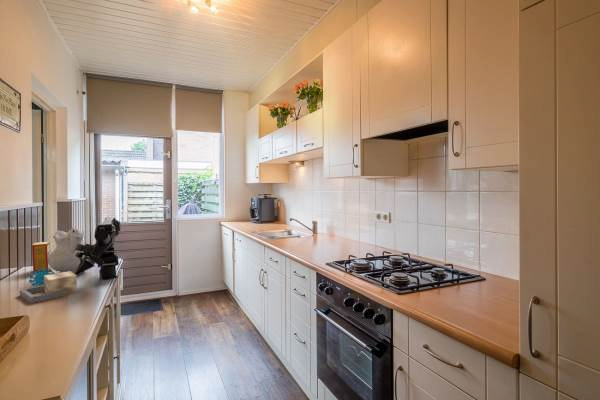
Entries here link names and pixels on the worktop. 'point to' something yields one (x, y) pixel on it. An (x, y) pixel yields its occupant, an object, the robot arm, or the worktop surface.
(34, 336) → the worktop surface
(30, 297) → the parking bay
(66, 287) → the oak block
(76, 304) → the worktop surface
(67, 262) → the ceramic pitcher
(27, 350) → the worktop surface
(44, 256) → the baking soda box
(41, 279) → the gear
